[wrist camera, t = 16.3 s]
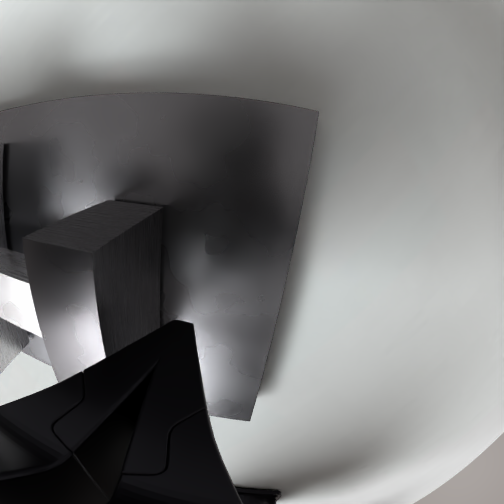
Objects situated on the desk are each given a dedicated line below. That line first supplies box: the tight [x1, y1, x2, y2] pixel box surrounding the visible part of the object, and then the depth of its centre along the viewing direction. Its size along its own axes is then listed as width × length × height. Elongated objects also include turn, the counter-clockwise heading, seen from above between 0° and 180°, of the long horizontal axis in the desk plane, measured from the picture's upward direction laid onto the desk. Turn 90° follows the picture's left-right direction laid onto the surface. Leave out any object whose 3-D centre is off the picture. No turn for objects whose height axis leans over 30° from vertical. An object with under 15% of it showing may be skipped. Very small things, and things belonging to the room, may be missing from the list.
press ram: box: [0, 143, 163, 383], centre depth 7 cm, size 12×10×4 cm
